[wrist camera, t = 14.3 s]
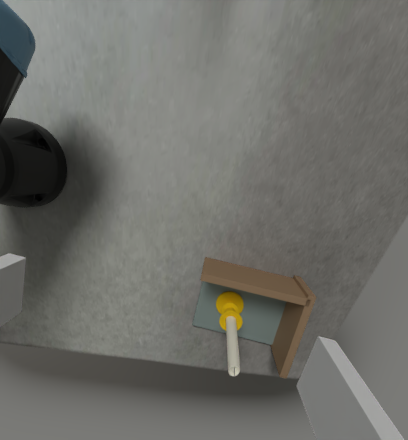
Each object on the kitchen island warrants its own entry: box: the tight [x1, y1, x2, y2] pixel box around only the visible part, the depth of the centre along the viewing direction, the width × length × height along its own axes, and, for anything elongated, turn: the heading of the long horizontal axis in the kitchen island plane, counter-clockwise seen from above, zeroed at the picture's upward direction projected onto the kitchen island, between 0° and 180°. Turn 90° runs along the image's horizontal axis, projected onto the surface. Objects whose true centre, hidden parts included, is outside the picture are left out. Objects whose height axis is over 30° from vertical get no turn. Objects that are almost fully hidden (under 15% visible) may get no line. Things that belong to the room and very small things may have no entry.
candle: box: [216, 291, 244, 376], centre depth 35 cm, size 5×5×16 cm
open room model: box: [192, 257, 316, 378], centre depth 39 cm, size 18×15×7 cm
